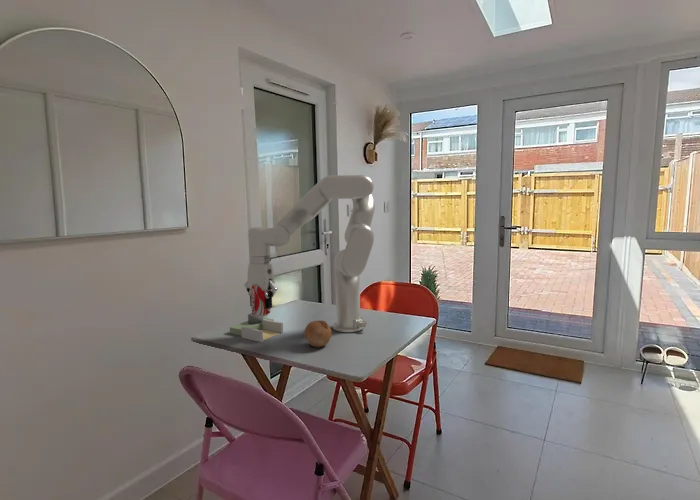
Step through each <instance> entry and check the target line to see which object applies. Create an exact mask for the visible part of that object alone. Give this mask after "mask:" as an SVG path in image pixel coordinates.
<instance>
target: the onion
mask: <svg viewBox="0 0 700 500" xmlns="http://www.w3.org/2000/svg"><path fill="white" fill-rule="evenodd" d="M303 335H304V339H305V340H306V342H307V343H308V344H309V345H310V346H312V347H313V348H321V347H325V346H326V345H328V344H329V342H330V340H331V338H332V329H331V327H330V326H329V325H328V323H327V322H326V321H325V320H313V321H310V322H309V323H307V325H306V326H305V328H304V334H303Z"/></svg>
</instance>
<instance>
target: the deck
mask: <svg viewBox="0 0 700 500" xmlns="http://www.w3.org/2000/svg"><path fill="white" fill-rule="evenodd" d="M283 333H284V322H281V321H276V320H274V319H272V318H268V317H264V316H261V317H259V316H255V315H253V314H252V312H250V313H248V314H247V320H246V321H244V322H241V323H238V324H235V325H231V326H229V334H233V335H236V336H241V339H245V340H251V341H255V342H258V343H259V342H260V343H263V342H264V341H266V340H268V339H271V338H273V337H275V336H277V335H280V334H283Z"/></svg>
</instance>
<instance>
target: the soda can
mask: <svg viewBox="0 0 700 500" xmlns="http://www.w3.org/2000/svg"><path fill="white" fill-rule="evenodd" d="M252 285H253V284H252ZM268 289H269V288H268ZM267 292H268V294H269V291H267ZM265 298H266V296H265V294H264V291H262V289H261V288H260V287H259V285H253V286H252V288H251V306H250V308H251V313H252V314H253V315H255V316H259V317H261V316H263V317H266V316H268V315H269V314H270V313H271V308H268V309H265Z"/></svg>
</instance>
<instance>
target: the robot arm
mask: <svg viewBox="0 0 700 500" xmlns="http://www.w3.org/2000/svg"><path fill="white" fill-rule="evenodd" d="M373 190H374V182H373V180H372V179H371V178H370V177H369V176H366V175H364V174H352V175H350V174H347V175H346V174H345V175H344V174H343V175H336V174H333V175H331V174H330V175H326V176H324V177H323V178H321V179H319V181H318V182H317V183H316V184H314V186H312V187H311V188H310V189H309V191H307V193H306V194H305V195H304V196H302V197H301V199H299V200H298V202H297V203H296V204H294V206H293V207H292V208H290V210H289V211H288V212H287V213H286V214H285V215H284V216H283V217H281V219H280V220H279V221H278V222H277V223H276V224H274V226H273V227H265V226H264V227H263V226H255V227H250V228H249V229H248V232H247V233H248V235H247V236H248V261H249V263H248V267H247V268H248V269H247V280H246V282H244V285H243V286H244V287H245V289H246V291H247V293H248V296H249V306H250V307H251V288H252V286H253V285H259V287H260V288H261V289H262V291H264V294H265V296H266V298H265V309H268V308H270V309H271V308H272V307H273V298H274V296H275V294H276V292H277V291H278V289H279V288H278V287H277V286H276V284H275V273H274V269H273V264H272V263H271V261H272V258H271V257H270V255H271V254H270V253H271V252H270V247H275V248H276V247H277V248H282V247H286V246H287V245H288V244H289V243H290V240H291V237H292V236H293V235H294V234H295V233H296V232H297V231H298V230H299V229H300V228H301V227H302V226H304V225H305V224H307V223H309V222H310V221H312V220H313V219H314V218H315V217H317V216H318V215H319V213H321V212H322V211H323V210H324V209H325V208H326V207H327V205H329V204H330V203H331V202H332V201H333V200H334V199H335V200H336V199H337V200H340V199H342V200H345V199H348V200H349V199H350V200H351V202H352V210H351V214H350V217H349V220H348V224H347V226H346V229H345V232H344V240H345V242H346V245H345V249H341V250H340V251H338V252H337V254H335V257H334V274H335V275H334V276H335V303H336V304H335V306H336V309H335V310H336V316H335V317H336V322H335V323H333V324H332V329H333V330H335V331H337V332H339V333H355V332H359V331H362V330H364V328H368V327H369V321H368V320H364V319H363V316H362V315H361V279H360V276H361V275H362V273H364V271H365V268H366V266H367V264H368V261H369V259H370V258H369V257H370V255H371V251H372V248H373V246H374V239H375V234H374V231H373V229H372V228H371V225H372V222H373V218H374V214H375V207H376V206H375V199H374V196H373V192H374V191H373ZM252 284H253V285H252ZM268 288H269V289H268ZM267 291H269V294H268V292H267Z"/></svg>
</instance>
